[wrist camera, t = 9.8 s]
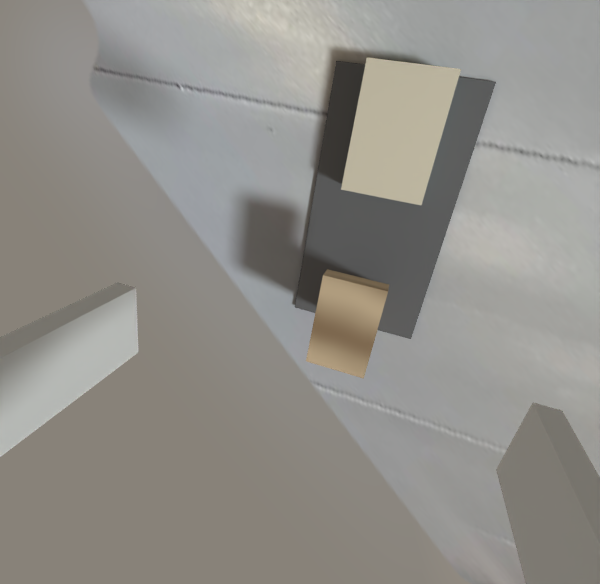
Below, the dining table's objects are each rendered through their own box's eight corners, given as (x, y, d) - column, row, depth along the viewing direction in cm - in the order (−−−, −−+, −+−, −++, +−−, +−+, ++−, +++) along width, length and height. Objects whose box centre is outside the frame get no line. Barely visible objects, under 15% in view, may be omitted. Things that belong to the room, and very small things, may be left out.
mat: (337, 61, 31) (336, 60, 31) (494, 82, 29) (496, 81, 29) (295, 305, 41) (294, 307, 41) (410, 337, 39) (410, 338, 38)
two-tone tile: (340, 189, 32) (346, 186, 35) (421, 205, 31) (420, 200, 33) (366, 57, 28) (370, 65, 30) (461, 69, 26) (456, 76, 29)
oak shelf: (345, 242, 37) (322, 275, 28) (394, 253, 36) (388, 291, 27) (330, 311, 40) (306, 361, 31) (375, 323, 39) (363, 378, 30)
